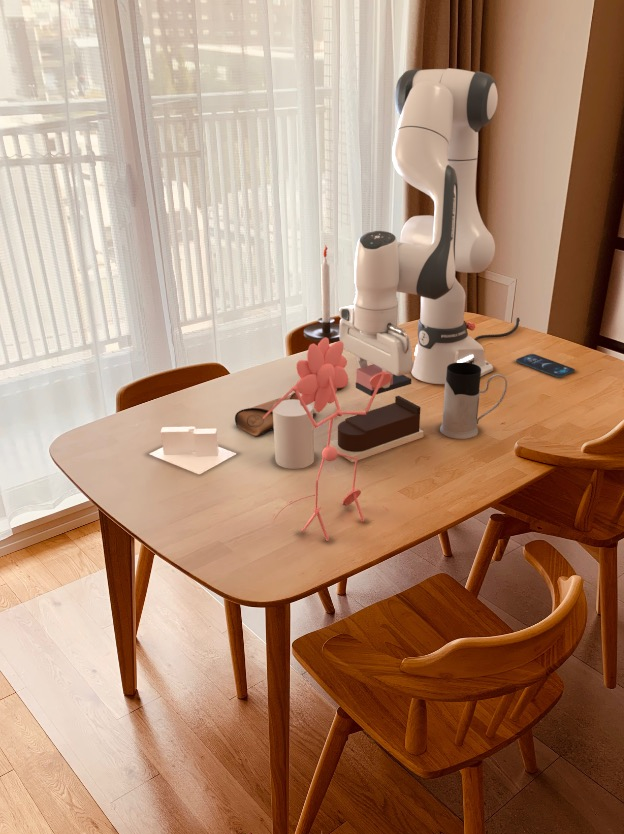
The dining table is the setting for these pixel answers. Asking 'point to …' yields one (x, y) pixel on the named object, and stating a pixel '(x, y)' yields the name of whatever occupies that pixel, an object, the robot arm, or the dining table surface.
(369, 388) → the two-tone stepped block
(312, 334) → the candlestick
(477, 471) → the dining table surface
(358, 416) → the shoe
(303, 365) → the figurine
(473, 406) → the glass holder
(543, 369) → the smartphone
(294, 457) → the cup
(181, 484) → the dining table surface
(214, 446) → the napkin holder
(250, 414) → the sunglasses case
